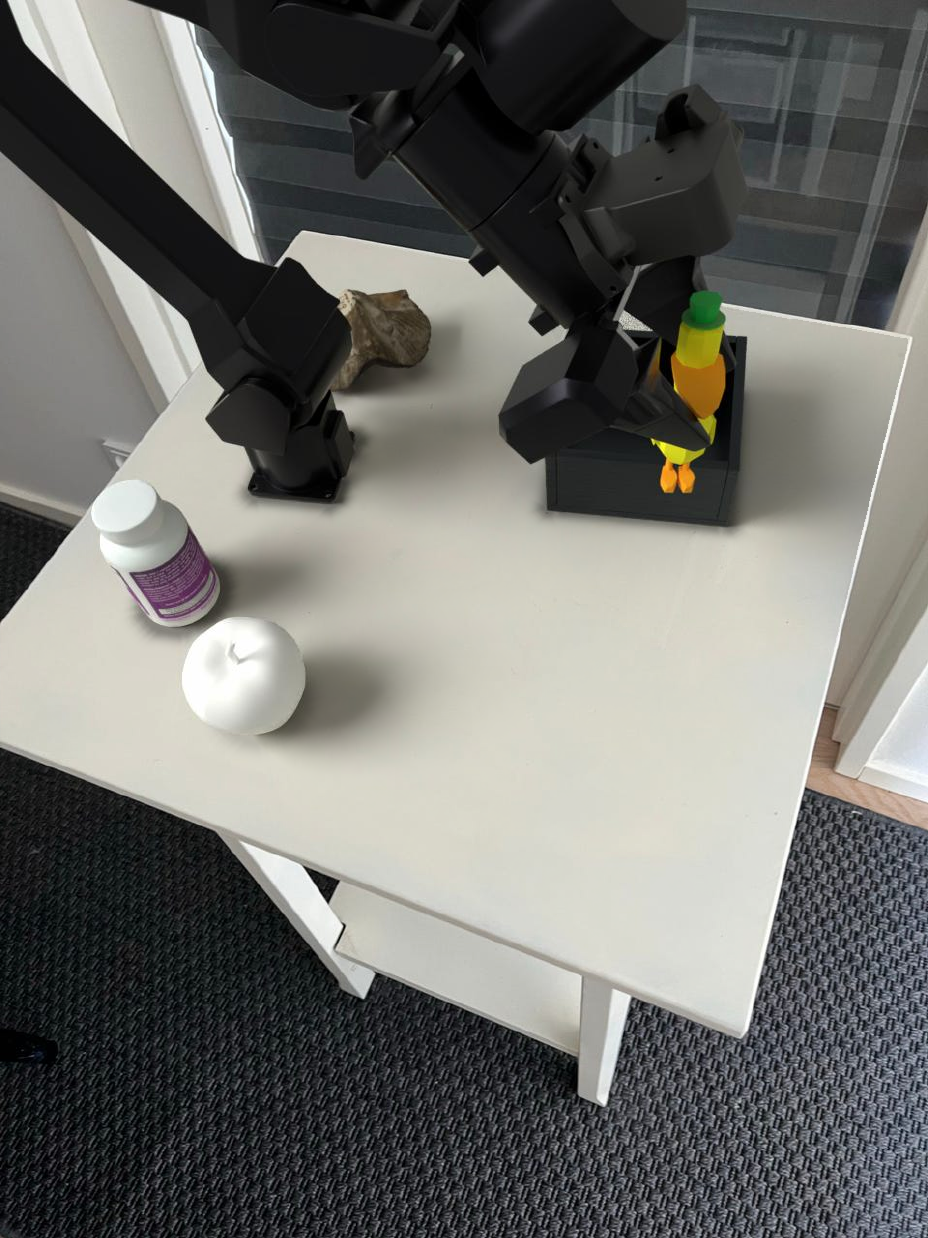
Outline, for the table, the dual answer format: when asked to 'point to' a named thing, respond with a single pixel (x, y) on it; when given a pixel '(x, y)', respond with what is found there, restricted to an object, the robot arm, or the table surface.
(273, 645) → the plain white apple
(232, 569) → the table surface
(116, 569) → the pill bottle
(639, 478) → the open black box
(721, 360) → the toy figure
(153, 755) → the table surface
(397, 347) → the brown irregular lump
